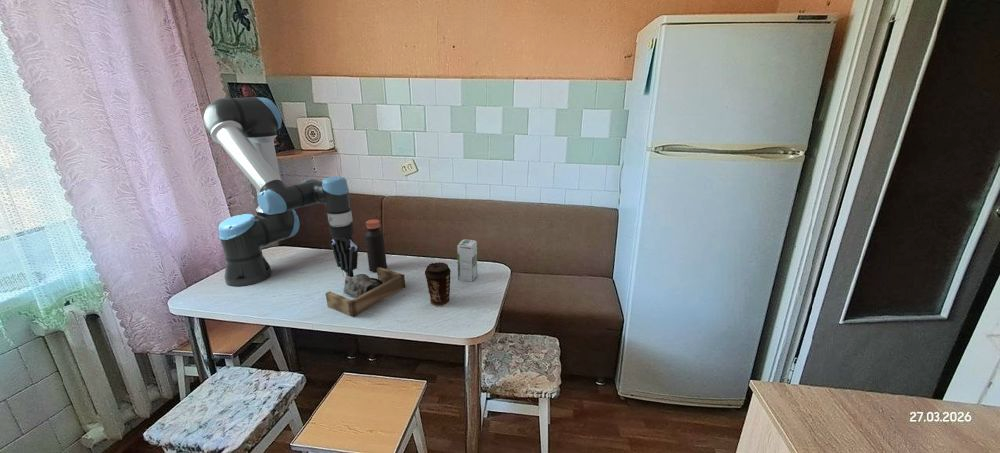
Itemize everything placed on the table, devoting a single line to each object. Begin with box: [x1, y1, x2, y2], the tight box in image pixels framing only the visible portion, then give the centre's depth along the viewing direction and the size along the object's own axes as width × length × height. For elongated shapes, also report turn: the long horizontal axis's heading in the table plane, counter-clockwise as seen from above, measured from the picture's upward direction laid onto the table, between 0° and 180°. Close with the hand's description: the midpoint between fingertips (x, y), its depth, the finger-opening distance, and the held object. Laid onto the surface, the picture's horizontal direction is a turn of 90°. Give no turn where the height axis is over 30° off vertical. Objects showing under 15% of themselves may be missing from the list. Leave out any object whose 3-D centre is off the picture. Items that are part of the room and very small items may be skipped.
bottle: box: [364, 219, 388, 274], centre depth 153 cm, size 7×7×20 cm
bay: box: [325, 267, 407, 318], centre depth 135 cm, size 12×23×5 cm, turn 149°
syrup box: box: [456, 239, 478, 283], centre depth 146 cm, size 6×6×14 cm
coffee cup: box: [424, 261, 451, 308], centre depth 130 cm, size 9×8×13 cm
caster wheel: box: [343, 273, 383, 299], centre depth 138 cm, size 7×11×10 cm
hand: (349, 286), depth 140 cm, fingers closed
